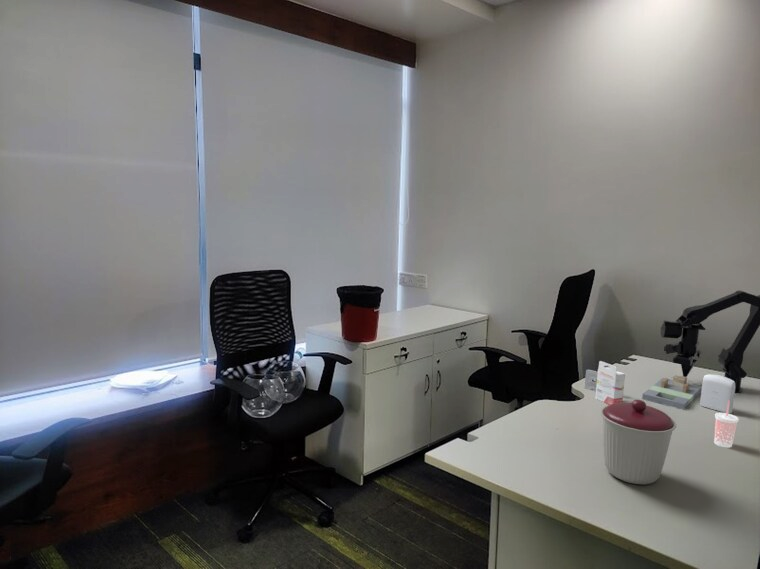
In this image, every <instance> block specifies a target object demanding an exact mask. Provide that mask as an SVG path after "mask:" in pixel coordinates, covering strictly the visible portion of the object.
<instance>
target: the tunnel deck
mask: <svg viewBox="0 0 760 569" xmlns="http://www.w3.org/2000/svg"><path fill="white" fill-rule="evenodd" d="M672 383H673V379H669V377H662V378H661V379H660V380H657V382H656V383H655V384H653V385H652V386H651V387H649V388H648V389H647V390H645V391H644V392H643V393H642V396H641V397H642V398H641V400H643V401H644V400H645V401H650V402H653V403H655V404H656V403H657V404H660V405H665V406H669V407H672V408H675V409H679V410H684V411H685V409H686V408H687V407H688V406H689V405H690V404H691V403H692V402H693V401H694V400H695V399H697V397H698V395H700V394H701V391H702V385H697V384H696V385H695V384H693V383H690V382H687V383H686V384H685V385H684V386H683V387H681V386H677V385H673V384H672Z"/></svg>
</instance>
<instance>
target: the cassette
mask: <svg viewBox="0 0 760 569" xmlns="http://www.w3.org/2000/svg"><path fill="white" fill-rule="evenodd" d="M597 374H598V370H597V371H596V370H591V369H586V370H585V378H584V389H586V390H588V391H593V392H596V385H597Z"/></svg>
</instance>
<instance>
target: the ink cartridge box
mask: <svg viewBox="0 0 760 569" xmlns="http://www.w3.org/2000/svg"><path fill="white" fill-rule="evenodd" d="M597 372H598V374H597V385H596V391H595V397H594V398H595V399H596V400H597V401H601V402H602V403H605V404H606V405H611V404H614V403H623V402H624V401H623V400H624V391H625V390H624V388H625V379H626V373H624V372H621V371H618V367H617V366H615V365H613V364H610V363H607V362H605V361H602V360H599V362H598V369H597Z"/></svg>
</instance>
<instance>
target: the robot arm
mask: <svg viewBox="0 0 760 569" xmlns="http://www.w3.org/2000/svg"><path fill="white" fill-rule="evenodd" d="M741 303H745V304H748V305H750V306H749V315H748V317H747V319H746V320H745V322H744V324H743V326H742V327H741V329H740V331H739V332H738V334H737V335H736V338H735V339H734V341H733V343H732V344H731V346H729V347H728V348H727V349H725V347H724V348H722V349H721V352H720V354H719V355H718V356H717V357H718V360H717V362H718V365H719V366H720V367H721V369H722V371H724V376H723V377H726V378H729V379H731V380H733V381H734V382H735V393H738V394H740V393H741V392H742V390H743V387H741V385H742V380H743V379H745V378H746V376H747V374H748V373H747V372H746V371H745V370H744V369H743V368H742V365H743V362H744V353H745V351H746V349H747V348H748V346H749V345H750V343H751V342H752V339H753V338H754V336H755V334H756V333H757V331H758V329H759V327H760V294H758V295H756V294H751V293H748V292H745V291H744V290H740V289H739V290H736V291H735V292H731V293H730V294H728V295H726V296H723V297H720V298H718V299H716V300H712V301H710V302H709V303H708V302H707V303H705V304H699V305H693V306H689V307H686V308H685V309H683V312H682V314H681V315H680V316H679V317H678V318H677V319H676V320H675V321H671V320H663V322H662V325H661V327H660V337H661V338H664V339H665V338H667V339H668V338H669V339H677V340H678V339H679V338H681V339H680V341H678V342H677V343H669V344H668V343H666V344H665V345H664V346H663V351H664V352H665V355H669V354H675V353H676V355H675V356H673V357H672V363H673V364H676V365H677V364H678V365H680V366H681V373H682V376H684V377H687V378H688V375H689V374H690V373H691V372H692V369H694V366H695V365H696V364H697V362H698V359H700V358H701V357H702V351H701V350H700V349H698V345H699V335H700V334H699V333H700V330H701V331H706V328H705V327H704V326H703V324H702V322H704V321H705V320H707V319H709V317H710V316H712V315H713V314H715V313H719V312H721V311H724V310H726V309H728V308H732V307H733V306H736V305H739V304H741ZM696 356H697V358H698V359H694V358H695V357H696Z"/></svg>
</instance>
